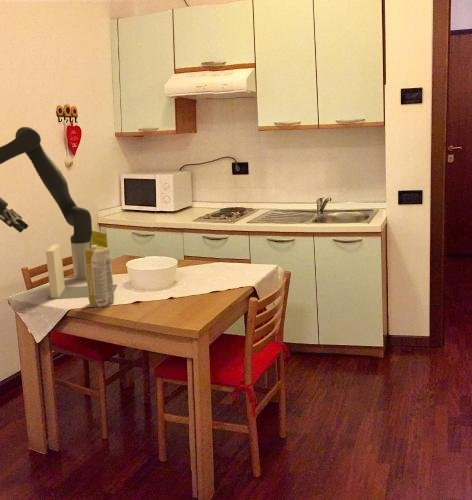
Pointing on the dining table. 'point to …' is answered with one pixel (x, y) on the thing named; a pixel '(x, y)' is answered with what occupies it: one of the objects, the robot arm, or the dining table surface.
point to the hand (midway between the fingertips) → (24, 229)
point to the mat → (74, 292)
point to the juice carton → (99, 275)
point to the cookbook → (55, 270)
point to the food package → (99, 239)
